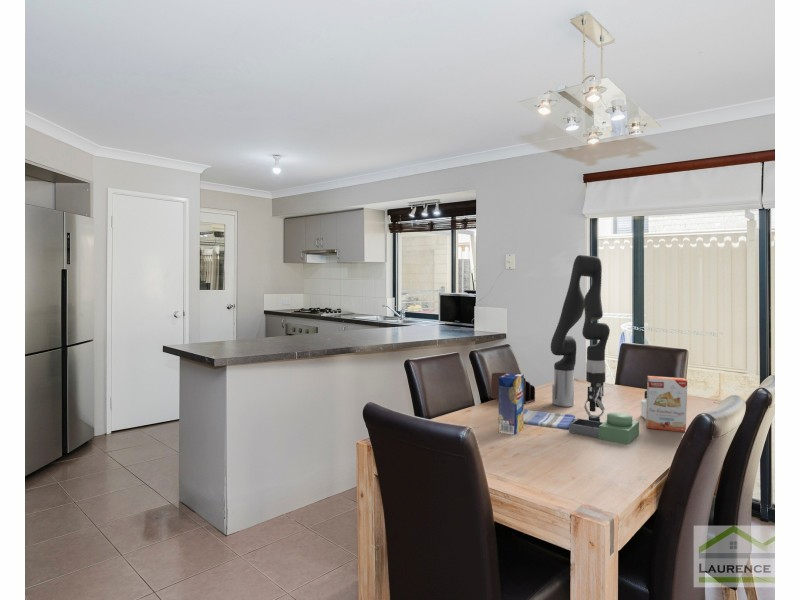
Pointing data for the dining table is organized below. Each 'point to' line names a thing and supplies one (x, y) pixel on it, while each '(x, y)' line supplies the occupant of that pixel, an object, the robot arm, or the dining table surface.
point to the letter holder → (528, 389)
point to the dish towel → (547, 419)
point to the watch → (595, 417)
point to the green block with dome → (619, 428)
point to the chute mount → (585, 427)
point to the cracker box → (666, 403)
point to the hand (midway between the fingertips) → (595, 409)
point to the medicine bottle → (644, 406)
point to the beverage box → (511, 403)
